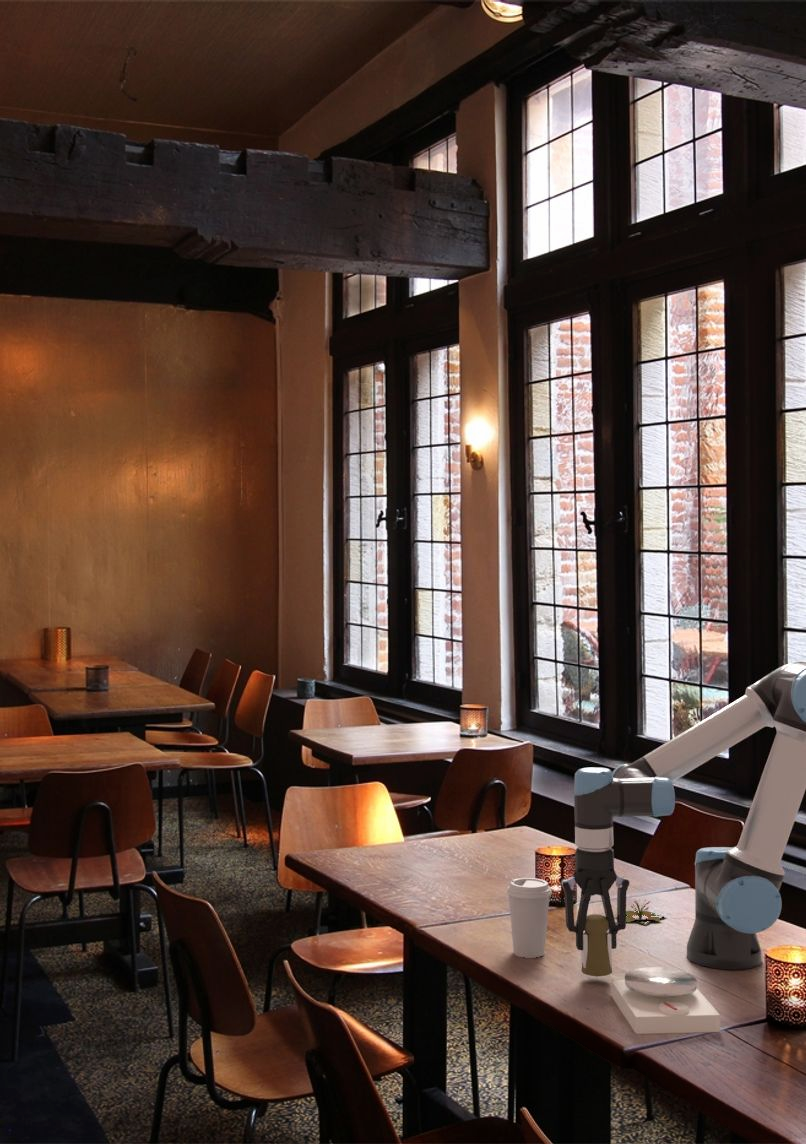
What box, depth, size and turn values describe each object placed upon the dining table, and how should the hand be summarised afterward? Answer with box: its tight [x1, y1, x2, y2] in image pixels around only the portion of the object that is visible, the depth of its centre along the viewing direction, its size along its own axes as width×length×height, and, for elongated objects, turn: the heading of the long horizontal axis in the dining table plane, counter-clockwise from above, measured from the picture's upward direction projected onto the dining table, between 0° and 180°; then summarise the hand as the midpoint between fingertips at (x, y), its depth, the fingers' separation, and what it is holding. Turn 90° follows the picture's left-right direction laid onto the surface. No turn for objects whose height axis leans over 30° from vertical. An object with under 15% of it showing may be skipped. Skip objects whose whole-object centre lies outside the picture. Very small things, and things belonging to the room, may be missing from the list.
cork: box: [580, 913, 613, 977], centre depth 245 cm, size 6×6×11 cm
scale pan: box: [624, 966, 698, 997], centre depth 229 cm, size 13×13×1 cm
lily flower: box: [615, 899, 662, 926], centre depth 288 cm, size 12×12×5 cm
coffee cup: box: [505, 877, 553, 959], centre depth 262 cm, size 10×10×15 cm
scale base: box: [610, 979, 721, 1035], centre depth 227 cm, size 15×19×4 cm
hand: (596, 965), depth 245 cm, fingers closed on cork, 4 cm apart
